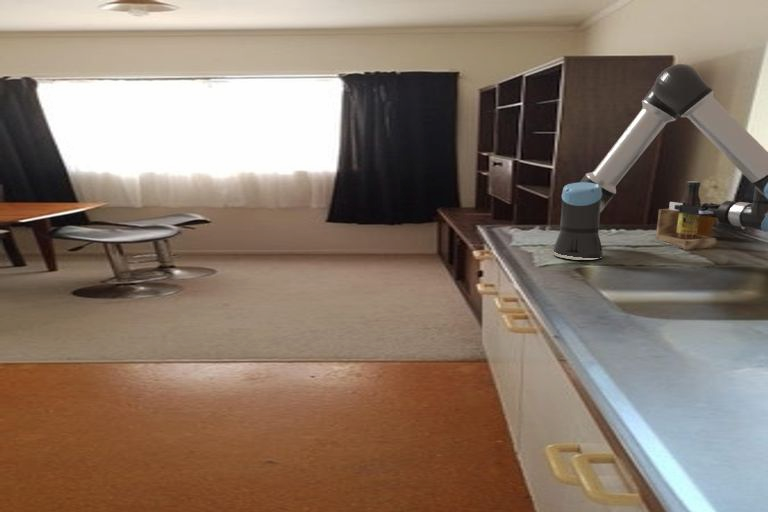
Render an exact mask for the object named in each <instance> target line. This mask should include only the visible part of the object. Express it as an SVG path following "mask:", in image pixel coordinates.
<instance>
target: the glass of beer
mask: <svg viewBox="0 0 768 512" xmlns="http://www.w3.org/2000/svg"><path fill="white" fill-rule="evenodd" d="M715 219H716V218H713V217H710V216H699V221H698V229H697V234H698V235H702V236H707V237H711V232H712V230H713V225H714V223H715V222H714V221H715Z"/></svg>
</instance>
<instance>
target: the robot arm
mask: <svg viewBox="0 0 768 512" xmlns="http://www.w3.org/2000/svg"><path fill="white" fill-rule="evenodd" d="M714 93H715V91H714V90H713V88H711V87H710V86H709V84H707V83H706V81H705V80H704V79H703V77H702V76H701V74H700V73H699V71H698V70H697V69H696V68H695V67H693V66H692V65H689V64H684V63H678V64H674V65H671V66H668V67H667V68H665V69H664V70H662V71H661V73H659V75H658V76H657V77H656V80H655V81H654V84H653V86H652V87H651V88H650V90H649V91H648V93H647V94H646V95H645V96H644V98H643V99H642V100H641V103H642V108H641V110H640V111H639V112H638V114H636V116H635V118H634V119H633V120H632V121H631V123H630V124H629V125H628V127H627V128H625V130H624V132H623V133H622V135H621V136H620V137H619V138H618V139H617V141H616V142H615V143H614V144H613V145H612V147H611V149H610V150H609V151H608V152H607V154H606V155H605V156H604V157H603V159H602V160H601V162H599V164H598V165H597V167H595V169H594V170H593V171H592V172H586V173H585V175H584V176H583V178H582V179H581V180H580V181H579V182H573V183H568V184H566V185H564V187H562V188H563V189H562V192H561V193H562V194H561V209H560V211H561V212H560V223H559V225H560V227H559V233H558V236H557V239H556V241H555V243H554V246H553V250H552V252H553V251H554V252H556V253H558V254H561V255H567V256H573V257H582V258H600V257H602V258H603V254H604V253H603V252H604V250H603V247H602V243H601V242H602V241H601V239H600V235H599V231H600V229H599V228H600V217H601V213H602V212H603V211H604V209H605V208H606V206H607V205H608V203H610V201H611V200H612V198H613V197H614V196H615V195H616V194H617V188H616V186H617V185H618V184H619V182H620V181H621V180H622V179H623V178H624V176H625V175H626V174H627V173H628V172H629V170H630V169H631V168H632V167H633V165H634V164H635V163H636V162H637V160H638V159H639V158H640V157H641V155H643V154H644V152H645V150H646V149H647V148H648V147H649V146H650V145H651V143H652V142H653V141H654V139H655V138H656V137H657V135H658V134H659V133H660V132H661V131H662V130H663V129H664V127H665V126H666V125H667V124H668V123H670V122H674V121H676V120H677V119H678V118H679V117H680V118H687V119H688V120H690V122H691V123H692V124H693V125H694V126H695V127H696V128H697V129H698V130H699V131H700V132H701V133H702V134H703V135H704V136H705V137H706V138H707V139H708V140H709V141H710V142H711V143H712V144H713V145H714V146H715V147H716V148H717V149H718V150H719V151H720V152H721V153H722V154H723V155H724V156H725V158H726V159H728V160H729V161H730V162H731V164H733V165H734V166H735V168H736V169H738V170H739V172H740V173H742V175H743V176H744V177H745V178H746V179H747V180H748V181H749V182H750V183H751V184H752V185H753V186H754V194H753V201H752V203H751V202H743V201H733V200H726V201H724V202H722V203H721V204H719V203H714V202H710V203H707V202H705V203H704V202H700V204H701V206H694V205H686V203H685V202H684V203H681V202H675V201H669V207H668V209H669V210H675V211H679V213H686V214H693V215H699V216H710V217H713V218H715V219H716V218H717V220H718V222H719V223H721V224H723V225H727V226H735V227H740V228H741V230H745V229H751V230H756V231H762V232H767V233H768V151H767V149H765V147H764V146H762V145H761V143H760V142H759V141H758V140H757V139H756V138H754V137H753V136H752V134H750V132H748V130H747V129H745V128H744V127H743V126H742V124H740V123H739V122H738V120H737V119H735V117H734V116H733V115H731V113H730V112H728V111H727V109H726V108H725V107H724V106H722V105H721V104H720V103H719V101H718V100H717V99H716V98H715V97H714Z"/></svg>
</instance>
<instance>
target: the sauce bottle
mask: <svg viewBox="0 0 768 512" xmlns="http://www.w3.org/2000/svg"><path fill="white" fill-rule="evenodd" d="M685 186H686V190H685V191H686V192H685V195H684V196H683V197H682V198H681V201H680V203H684V202H685V203H686V205H694V206H701V204H700V203H701V199H700V194H699V192H700V191H699V190H700V186H701V181H686V184H685ZM698 221H699V215H693V214H686V213H679V217H678V224H677V231H676V232H677V234H676V237H678V238H682V239H695V237H696V234H697V229H698Z"/></svg>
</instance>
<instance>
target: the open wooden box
mask: <svg viewBox="0 0 768 512" xmlns="http://www.w3.org/2000/svg"><path fill="white" fill-rule="evenodd" d="M678 217H679V211H675V210H669V208H663V209H662V208H661V209H658V216H657V223H656V234H655V240H656V239H657V240H660V241H663V242H666V243H669V244H672V245H675V246H678V247H680V248H679V249H681V248H683V249H682V250H693V249H694V248H696V249H705V248H706V249H707V248H708V247H709V248H716V247H717V238H715V237H711V236H710V237H707V236H702V235H698V234H696V237H695V239H682V238H678V237H676V234H677V232H676V231H677V224H678ZM694 250H695V249H694Z"/></svg>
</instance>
